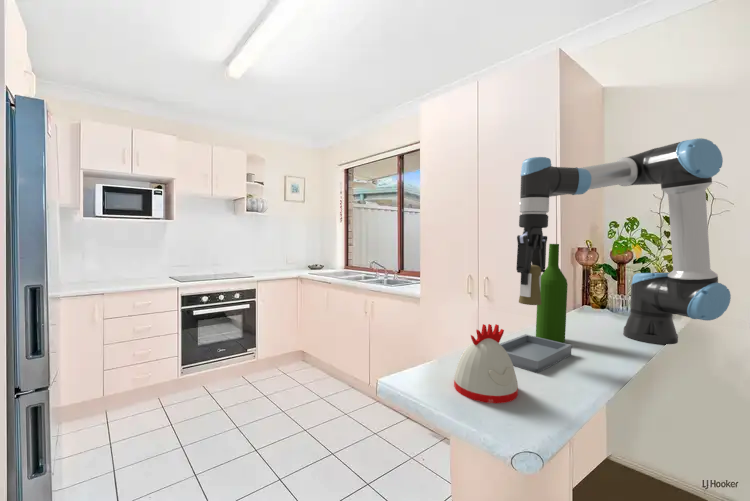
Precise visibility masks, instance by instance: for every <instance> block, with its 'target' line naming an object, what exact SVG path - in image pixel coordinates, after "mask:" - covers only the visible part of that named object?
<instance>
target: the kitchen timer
mask: <svg viewBox="0 0 750 501" xmlns="http://www.w3.org/2000/svg"><path fill="white" fill-rule="evenodd" d="M499 326H500V325H499V324H495V325H494V327H493V326H492V324H490V323H489V324H488V325H486V324H482V327H481V331H480V329H476V330H475V331H476V336H477V338H475V336H474V335H472V334H470V338H471V343H470V344H468V346H466V348H465V349H464V351H463V352H462V354H461V356H460V358H459V360H458V363H457V365H456V368H455V373H454V377H453V378H454V379H453V387H454V389H455V391H456V392H457V393H458V394H460V395H461V396H463V397H464V398H468V399H470V400H473V401H476V402H481V403H485V404H505V403H509V402H513V401H514V400H516V399H517V397H518V396H519V394H518V393H519V384H518V380H517V375H516V370H515V366H513V364H512V361H511V359H510V357H509V355H508V353H507V352H506V350H505V349H504V348H503V347H502V346H501V345H500V342H501V339H502V338H503V336H504V331H505V329H503V328H501V329H499V328H500V327H499ZM493 328H494V329H493Z"/></svg>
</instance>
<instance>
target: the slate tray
mask: <svg viewBox="0 0 750 501" xmlns="http://www.w3.org/2000/svg"><path fill="white" fill-rule="evenodd" d="M499 344H500V345H501V346H502V347H503V348H504V349H505V350H506V352H507V353H508V355H509V357H510V359H511V361H512V364H513V367H517V368H519V369H523V370H525V371H530V372H532V373H537V374H539V373H541V372H542V371H545V369H548V368H549V367H552V366H553V365H555V364H557V363H559V362H560V361H562V360H565V359H567V358H569V357H570V356H572V346H573V345H572V344H570V343H565V342H564V343H561V342H557V341H552V340H548V339H544V338H539V337H536V335H535V336H534V335H530V334H523V335H520V336H517V337H514V338H511V339H508V340H506V341H503V342H501V343H500V342H499Z"/></svg>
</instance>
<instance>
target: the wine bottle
mask: <svg viewBox="0 0 750 501" xmlns="http://www.w3.org/2000/svg"><path fill="white" fill-rule="evenodd" d="M548 245H549V246H548V260H547V261H548V262H547V267H545V272H542V273H541V287H540V294H541V305H536V321H535V324H536V325H535V337H539V338H544V339H548V340H552V341H557V342H561V343H565V341H566V328H567V327H566V325H567V308H568V306H567V305H568V304H567V302H568V300H567V299H568V281H567V280H568V279H567V278H566V277H565V275H564V273H563V272H562V270H561V269H560V266H559V263H560V260H559V259H560V258H559V257H560V244H559V243H549V244H548Z"/></svg>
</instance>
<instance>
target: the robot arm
mask: <svg viewBox="0 0 750 501" xmlns="http://www.w3.org/2000/svg"><path fill="white" fill-rule="evenodd" d="M723 162H724V161H723V155H722V152H721V150H720V148H719V146H718V145H717V144H715V143H714V142H713V141H711V140H710V139H707V138H702V137H701V138H700V137H699V138H693V139H685V140H682V141H678V142H675V143H671V144H668V145H667V144H666V145H664V146H663V145H662V146H660V147H655V148H652V149H651V148H650V149H648V150H646V151H643V152H639V153H637V154H634V155H629V156H625V157H621V158H619V159H617V161H613V162H607V163H601V164H596V165H590V166H585V167H584V166H583V167H566V166H564V167H563V166H553V165H552V160H551V158H549V157H545V156H534V157H529V158H526V159H524V160H523V161H522V164H521V170H520V193H519V194H520V201H519V203H518V205H519V212H520V213H521V214H519V220H518V226H519V228H521V229H522V228H523V231H522V234H520V235H519V234H518V235H517V236H516V241H517V251H516V252H517V253H516V257H517V258H516V272H517V273H519V274H520V283H519V284H520V285H519V286H520V288H519V289H520V290H519V297H520V296H525V297H531V276H532V274H530V269H531V265H537V266H539V267H540V268H541V273H543V272H545V270H546V263H547V262H546V261H547V257H546V256H547V243H548V236H547V235H544V233H543V229H546V228H548V227H549V215H548V214H547V213H549V211H550V197H551V198H552V197H558V196H563V195H564V196H565V195H570V196H571V195H572V196H576V195H584V194H585V193H587V192H588V191H590V190H593V189H594V190H595V189H601V188H606V187H613V186H620V187H631V186H640V185H642V186H643V185H660V187H661V191H663V192H664V193H666V194H667V198H668V211H669V212H668V214H669V224H670V225H669V228H670V242H671V253H672V254H671V255H672V271H670V272H637V273H635V274H634V275H633V276H632V280H631V291H630V312H629V316H628V318H627V320H626V323H625V326H624V327H623V335H624V337H626V338H629V339H632V340H636V341H639V342H645V343H651V344H657V345H675V344H678V342H679V335H678V334H677V331H676V330H677V329H676V326H675V323H674V320H673V316H674V315H677V316H682V317H685V318H690V319H692V320H700V321H713V320H717V319H718V318H720V317H721V316H723V314H725V312H726V311H727V310H728V308H729V306H730V303H731V296H732V295H731V291H730V289H729V288H728V287H727V286H726V285H724V284H723V283H721V282H719V276H718V273H716V272H715V271H713V270H712V269H711V256H710V255H711V254H710V244H709V243H710V240H709V226H708V210H707V208H708V207H707V195H706V194H707V193H706V190H707V189H708V188H709V187H710V186H711V185H712V184H713V177H714V176H716V175H718V174H719V172H720V171H721V168H722V167H723ZM541 275H542V274H541ZM541 275H540V276H539V284H540V287H541Z"/></svg>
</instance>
